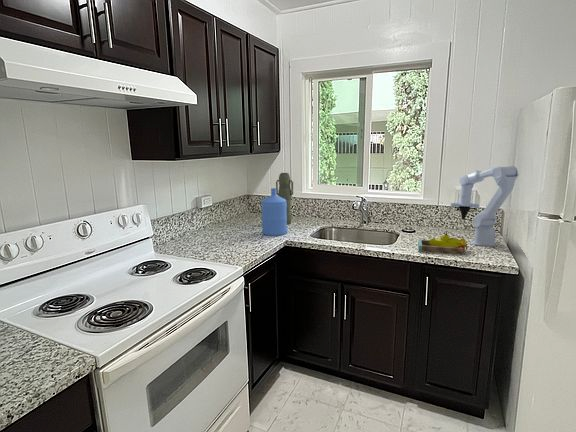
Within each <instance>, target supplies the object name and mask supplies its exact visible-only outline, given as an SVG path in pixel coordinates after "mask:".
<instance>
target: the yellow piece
mask: <svg viewBox="0 0 576 432" xmlns="http://www.w3.org/2000/svg"><path fill="white" fill-rule="evenodd" d="M443 233H444V234H442V236H441V237H440V238H429V239H428V240H430V245H432V246H440V247H454V248H463V252H465V250H468V243H467V242H468V241H467V240H465V238H464V237H459V236H457V238H455V237H451V236H450V235H449V233H450V234H451V235H453V236H455V234H453V233H451V232H449V231H448V230H446V231H444V232H443Z"/></svg>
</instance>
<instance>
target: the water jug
mask: <svg viewBox="0 0 576 432" xmlns="http://www.w3.org/2000/svg"><path fill="white" fill-rule="evenodd" d="M270 190H271V191H270V195H269V196H267V197H265V198H264V199H262V200H261V203H260V206H261V223H262V224H261V225H262V227H261V231H262V235H264V234H265V236H268V235H269V237H279V236H283V235H286V234H287V233H288V225H287V208H286V207H287V203H286V199H283V198H281V197H279V196H278V195H277V194H276V188H270Z"/></svg>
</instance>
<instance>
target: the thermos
mask: <svg viewBox="0 0 576 432" xmlns="http://www.w3.org/2000/svg"><path fill="white" fill-rule="evenodd" d="M275 187H276V195H277V196H279V197H281V198H283V199H286V203H287V207H286V208H287V226H289V225H291V224H292V223H293V222H292V220H293V218H292V217H293V216H292V206H291V205H292V203H291V200H292V196H293V195H294V181H293V180H292V179H291V177H290V174H289V173H288V172H280V174H279V176H278V179H277V180H276V182H275Z"/></svg>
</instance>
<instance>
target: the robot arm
mask: <svg viewBox="0 0 576 432" xmlns="http://www.w3.org/2000/svg"><path fill="white" fill-rule="evenodd" d="M518 171H519V170H518V168H517V167H516V166H514V165H510V166H496V167H492V168H489V169H486V170H484V171H481V170H479V169H476V170H474V172H468V174H462V175H460V176H459V179H458V181H459V184H460V193H459V202H450V207H451V208H453V207H456V208H457V207H458V208H459V210H460V215H461V220H466V217H467V215H468V213H469V212H470V210H471V208H476V209H479V208H480V204H479V203H473V202H472V194H473V193H472V192H473V188H474V185H475V184H476V183H480V182H483V181H484V180H485V179H486V178H490V177H493V180H494V181H495V183H496V186H498V189H497V190H496V192H495V193H494V194H493V196H492V198H491V199H490V200H489V201H488V203H487V205H486V207H485V208H484V209H483V210H482V211H480V212H478V213H477V215H476V216H474V217H472V224H473V226H474V228H475V229H474V238H473V239H472V243H473V245H475V246H486V247H495V244H496V243H495V241H496V229H495V228H493V226H495V225H496V220H497V219H498V217H497V215H496V214H497V213H498V211H499V210H500V208H502V207H501V206H502V205H503V204H504V202H505V201H506V200H507V199H508V197H509V195H511V192H512V191H513V189H514V187H515V182H516V180H517V179H518V178H519V175H520V174H519V172H518Z"/></svg>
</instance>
